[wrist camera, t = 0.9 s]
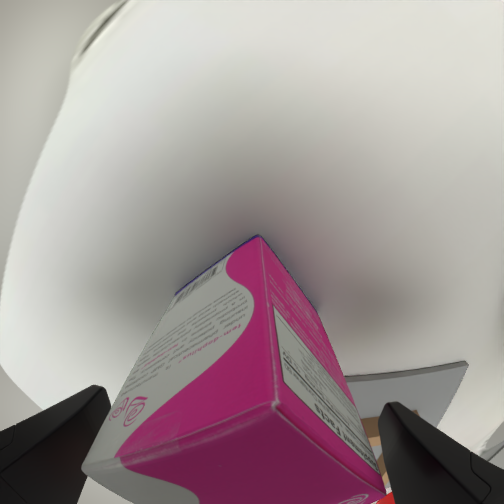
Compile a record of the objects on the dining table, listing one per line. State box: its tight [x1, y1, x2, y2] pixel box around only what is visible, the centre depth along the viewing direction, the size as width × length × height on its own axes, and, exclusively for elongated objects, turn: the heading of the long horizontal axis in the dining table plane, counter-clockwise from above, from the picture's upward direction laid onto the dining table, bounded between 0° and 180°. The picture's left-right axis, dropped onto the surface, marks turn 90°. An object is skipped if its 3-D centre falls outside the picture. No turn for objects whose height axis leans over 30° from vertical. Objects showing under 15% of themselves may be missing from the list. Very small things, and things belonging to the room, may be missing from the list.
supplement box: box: [81, 235, 386, 504], centre depth 10 cm, size 6×6×12 cm
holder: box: [344, 361, 469, 488], centre depth 18 cm, size 18×18×3 cm
